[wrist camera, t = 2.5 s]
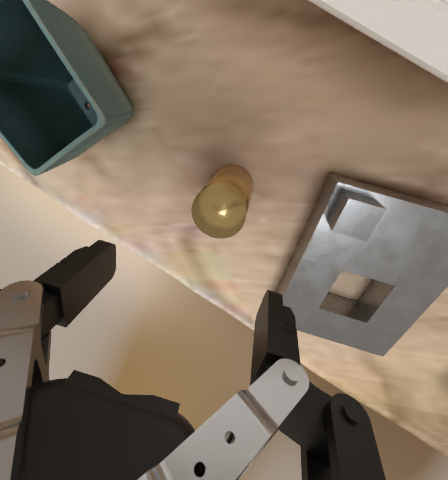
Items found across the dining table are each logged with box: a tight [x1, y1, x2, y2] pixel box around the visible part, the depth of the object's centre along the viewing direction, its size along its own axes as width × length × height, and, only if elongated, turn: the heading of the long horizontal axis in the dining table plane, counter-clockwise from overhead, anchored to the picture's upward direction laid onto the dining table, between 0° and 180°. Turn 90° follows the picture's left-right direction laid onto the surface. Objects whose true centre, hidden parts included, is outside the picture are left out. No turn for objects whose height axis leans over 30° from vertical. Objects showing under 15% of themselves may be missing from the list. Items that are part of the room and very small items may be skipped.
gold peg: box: [192, 165, 253, 238], centre depth 23 cm, size 4×4×8 cm
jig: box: [276, 173, 448, 356], centre depth 26 cm, size 18×14×6 cm
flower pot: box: [0, 0, 133, 176], centre depth 21 cm, size 9×9×9 cm
